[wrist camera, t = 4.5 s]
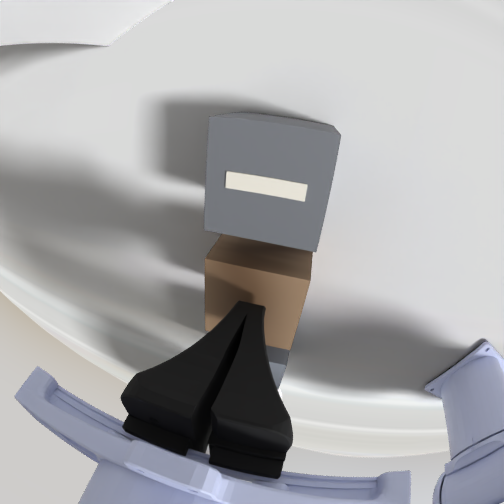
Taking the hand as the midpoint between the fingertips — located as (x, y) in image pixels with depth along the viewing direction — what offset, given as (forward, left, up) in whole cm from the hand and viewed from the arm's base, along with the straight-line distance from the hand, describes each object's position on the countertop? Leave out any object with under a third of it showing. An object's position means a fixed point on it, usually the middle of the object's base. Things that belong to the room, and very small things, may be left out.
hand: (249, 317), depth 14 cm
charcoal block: (+3, -6, -6) cm, 9 cm away
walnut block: (0, 0, -6) cm, 6 cm away
